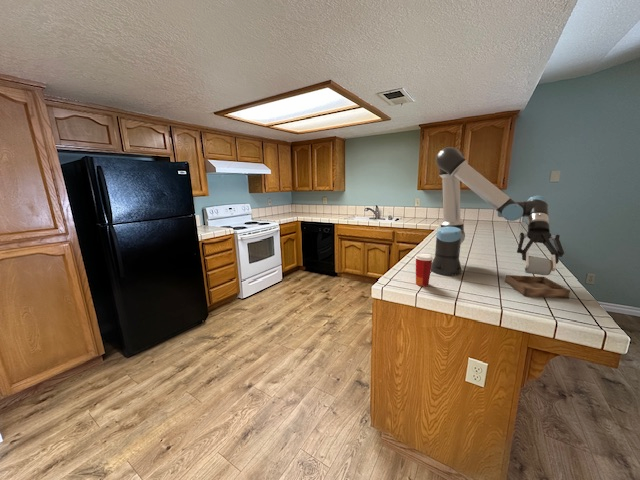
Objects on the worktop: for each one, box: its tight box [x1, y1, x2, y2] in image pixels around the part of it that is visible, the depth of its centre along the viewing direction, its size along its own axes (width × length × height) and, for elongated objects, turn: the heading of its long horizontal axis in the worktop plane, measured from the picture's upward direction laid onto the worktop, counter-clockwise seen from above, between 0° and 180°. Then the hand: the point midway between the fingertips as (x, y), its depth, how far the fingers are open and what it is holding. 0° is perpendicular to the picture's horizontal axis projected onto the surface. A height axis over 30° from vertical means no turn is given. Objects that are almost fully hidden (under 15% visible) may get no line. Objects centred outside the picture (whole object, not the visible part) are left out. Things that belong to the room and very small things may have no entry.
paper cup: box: [414, 253, 434, 287], centre depth 119 cm, size 8×8×14 cm
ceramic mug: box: [524, 255, 553, 276], centre depth 112 cm, size 11×8×8 cm
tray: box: [504, 274, 571, 299], centre depth 112 cm, size 16×16×4 cm
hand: (540, 268), depth 108 cm, fingers closed on ceramic mug, 8 cm apart
